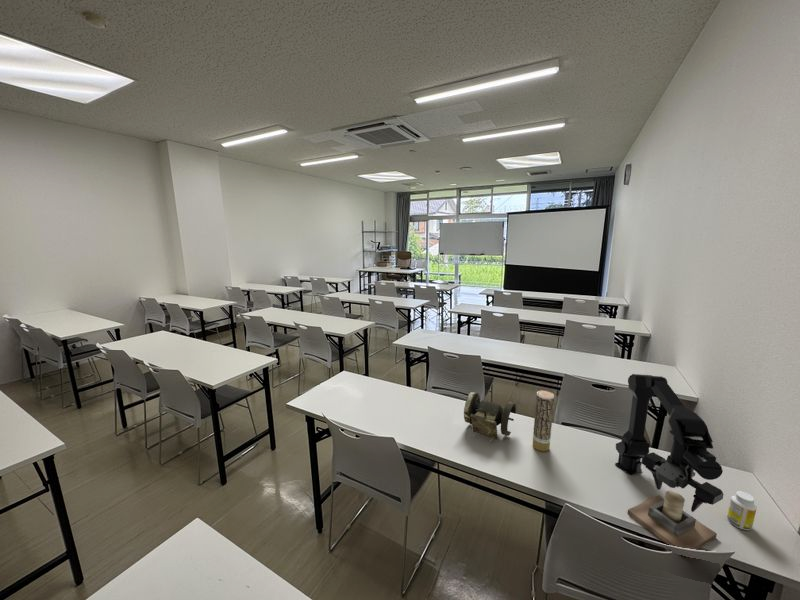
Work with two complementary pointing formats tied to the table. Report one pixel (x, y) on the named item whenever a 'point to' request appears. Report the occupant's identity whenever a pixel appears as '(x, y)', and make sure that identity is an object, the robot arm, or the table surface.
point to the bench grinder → (487, 416)
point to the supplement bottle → (742, 510)
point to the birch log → (543, 420)
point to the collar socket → (671, 525)
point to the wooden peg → (673, 506)
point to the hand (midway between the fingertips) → (675, 499)
